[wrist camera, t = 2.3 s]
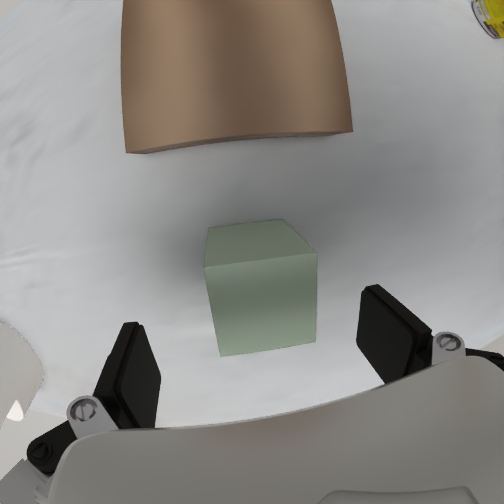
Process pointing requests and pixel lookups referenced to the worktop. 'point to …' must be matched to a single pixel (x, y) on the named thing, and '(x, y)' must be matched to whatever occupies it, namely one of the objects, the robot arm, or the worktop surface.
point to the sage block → (260, 287)
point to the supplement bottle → (491, 16)
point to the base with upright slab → (17, 374)
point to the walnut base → (230, 72)
